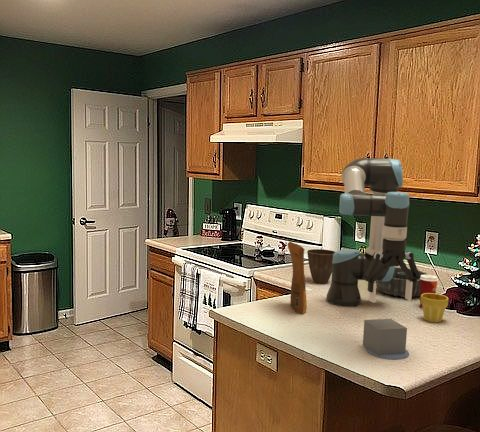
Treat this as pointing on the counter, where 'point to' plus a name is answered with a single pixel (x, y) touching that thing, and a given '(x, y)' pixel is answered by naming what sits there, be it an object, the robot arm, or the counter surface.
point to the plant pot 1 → (320, 264)
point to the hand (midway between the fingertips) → (390, 300)
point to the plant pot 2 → (433, 306)
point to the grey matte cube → (384, 336)
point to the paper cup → (427, 285)
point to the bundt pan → (399, 284)
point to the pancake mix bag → (298, 279)
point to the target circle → (390, 355)
